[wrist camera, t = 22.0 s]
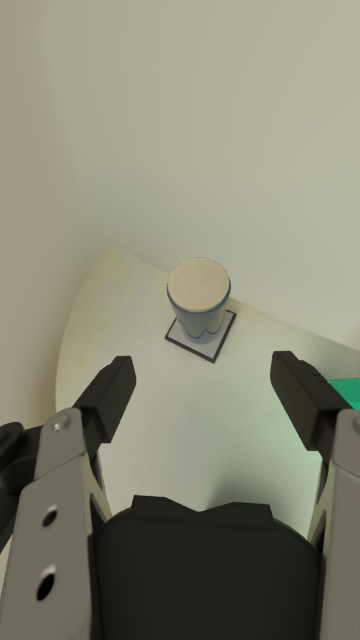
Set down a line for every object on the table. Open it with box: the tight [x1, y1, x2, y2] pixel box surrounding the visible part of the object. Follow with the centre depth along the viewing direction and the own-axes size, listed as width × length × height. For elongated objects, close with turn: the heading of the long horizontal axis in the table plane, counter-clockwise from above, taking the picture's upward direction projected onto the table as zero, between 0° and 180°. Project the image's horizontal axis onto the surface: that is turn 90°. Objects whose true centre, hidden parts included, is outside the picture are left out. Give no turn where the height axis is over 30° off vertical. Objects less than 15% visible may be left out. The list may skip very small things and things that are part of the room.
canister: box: [167, 258, 231, 344], centre depth 20 cm, size 6×6×11 cm
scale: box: [165, 310, 236, 363], centre depth 26 cm, size 8×8×1 cm
